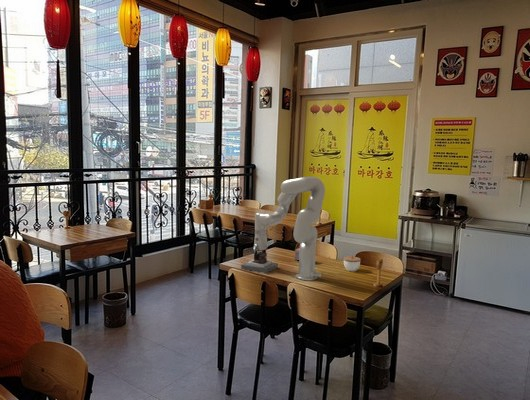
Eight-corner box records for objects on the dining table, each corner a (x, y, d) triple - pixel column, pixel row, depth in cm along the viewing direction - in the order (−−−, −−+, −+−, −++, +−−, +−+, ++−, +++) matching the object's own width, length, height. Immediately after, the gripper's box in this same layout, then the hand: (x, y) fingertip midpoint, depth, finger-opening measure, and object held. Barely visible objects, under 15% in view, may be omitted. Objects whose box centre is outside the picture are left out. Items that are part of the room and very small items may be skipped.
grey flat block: (277, 267, 261) (277, 260, 261) (266, 273, 247) (266, 266, 246) (253, 263, 269) (253, 257, 269) (241, 269, 255) (241, 262, 255)
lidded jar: (339, 269, 260) (340, 255, 259) (349, 267, 267) (349, 253, 266) (354, 273, 252) (354, 258, 251) (363, 270, 260) (363, 256, 259)
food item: (315, 262, 277) (316, 248, 276) (308, 264, 271) (308, 250, 270) (300, 258, 287) (300, 245, 286) (292, 260, 281) (293, 246, 280)
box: (259, 265, 254) (259, 254, 253) (253, 263, 258) (253, 252, 258) (266, 264, 257) (267, 252, 257) (261, 262, 262) (261, 251, 261)
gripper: (259, 234, 246) (258, 262, 248) (271, 230, 262) (271, 256, 263) (248, 233, 250) (248, 260, 251) (261, 229, 265) (261, 255, 267)
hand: (260, 258), depth 257 cm, fingers open, 9 cm apart
